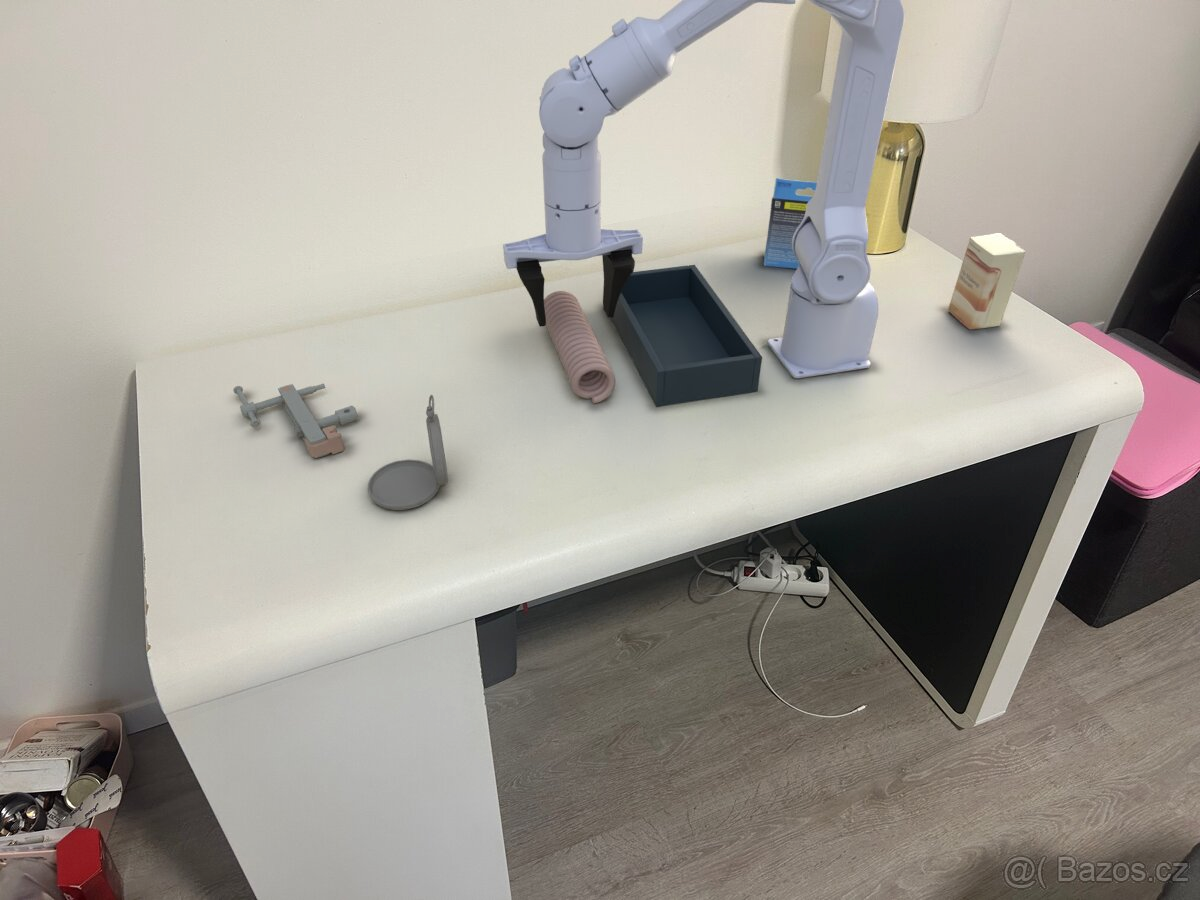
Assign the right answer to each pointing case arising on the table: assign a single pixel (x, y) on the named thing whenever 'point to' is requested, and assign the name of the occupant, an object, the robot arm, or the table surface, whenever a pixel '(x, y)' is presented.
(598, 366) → the coil
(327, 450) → the clamp
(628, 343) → the bin
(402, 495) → the pocket watch
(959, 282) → the printed cream carton
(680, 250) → the table surface
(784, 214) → the label tape box
